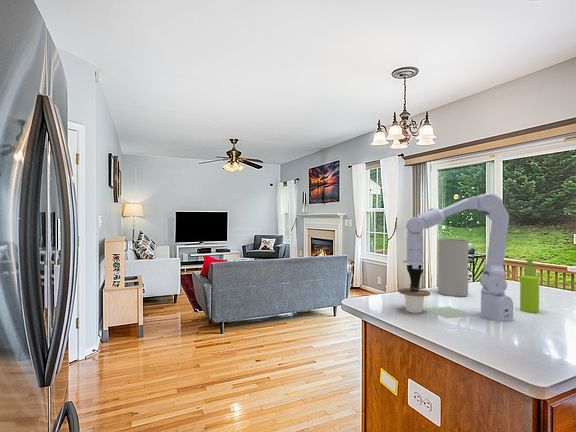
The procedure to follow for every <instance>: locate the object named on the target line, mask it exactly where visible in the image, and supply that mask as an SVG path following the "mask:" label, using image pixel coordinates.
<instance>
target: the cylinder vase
mask: <svg viewBox="0 0 576 432" xmlns="http://www.w3.org/2000/svg"><path fill="white" fill-rule="evenodd" d="M437 243H438V245H437V247H438V248H437V250H438V253H437V255H438V256H437V262H438V263H437V292H438V294H440V295H443V296H447V297H456V298H459V297H460V298H462V297H467V296H468V295H469V240H468V239H458V238H457V239H456V238H455V239H454V238H440V239H438V240H437Z"/></svg>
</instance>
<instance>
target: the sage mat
mask: <svg viewBox="0 0 576 432" xmlns="http://www.w3.org/2000/svg"><path fill="white" fill-rule="evenodd" d="M424 310H425V311H428V312H430V313H433V314H436V315H439V316H440V317H442V318H446V319H451V318H462V317H471V316H474V314H472V313H469V312H466V311H464V310H461V309H457V308H455V307H452V306H441V307H440V306H439V307H430V308H429V307H427V308H424Z"/></svg>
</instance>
